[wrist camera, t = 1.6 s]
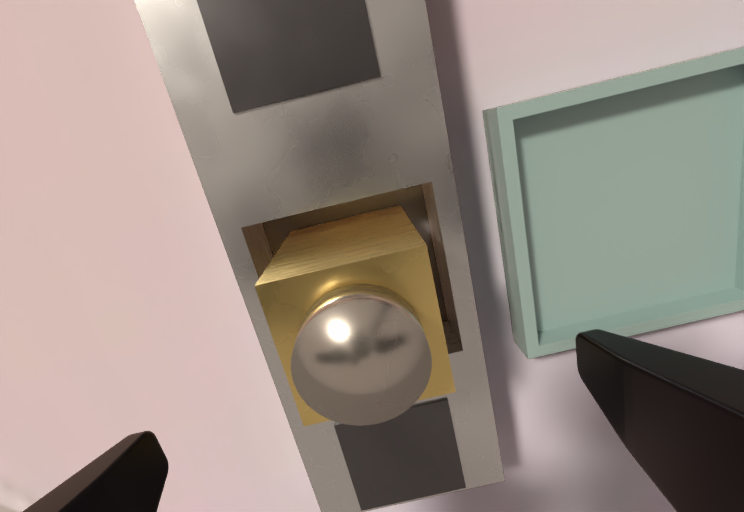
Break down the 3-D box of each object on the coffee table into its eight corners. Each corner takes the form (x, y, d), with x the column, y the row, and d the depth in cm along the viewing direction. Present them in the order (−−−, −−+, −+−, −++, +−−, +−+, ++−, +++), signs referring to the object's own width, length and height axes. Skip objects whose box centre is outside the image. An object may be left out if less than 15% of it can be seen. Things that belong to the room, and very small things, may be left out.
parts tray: (748, 45, 14) (793, 35, 13) (734, 290, 17) (769, 304, 16) (482, 110, 14) (496, 108, 13) (513, 340, 17) (528, 358, 16)
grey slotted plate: (376, -179, 12) (382, -263, 9) (485, 437, 19) (505, 482, 17) (126, -113, 12) (67, -177, 10) (328, 472, 19) (324, 522, 17)
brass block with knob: (399, 204, 15) (436, 259, 9) (421, 304, 17) (467, 421, 10) (291, 230, 16) (241, 305, 9) (320, 328, 17) (298, 459, 10)
